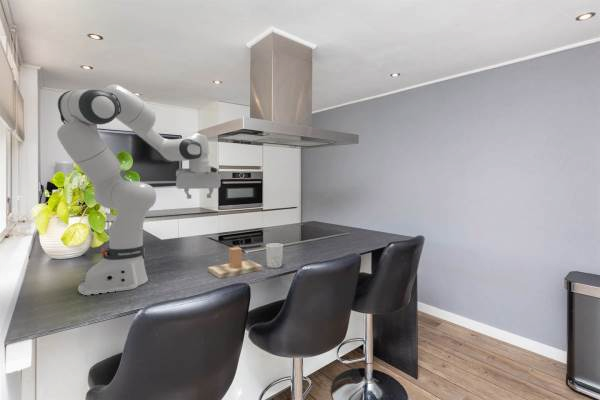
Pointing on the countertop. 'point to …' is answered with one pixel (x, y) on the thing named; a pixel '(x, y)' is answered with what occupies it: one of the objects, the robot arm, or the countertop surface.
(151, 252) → the countertop surface
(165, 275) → the countertop surface
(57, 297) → the countertop surface
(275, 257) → the white cup
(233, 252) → the orange brown wooden block
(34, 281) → the countertop surface
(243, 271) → the post base
